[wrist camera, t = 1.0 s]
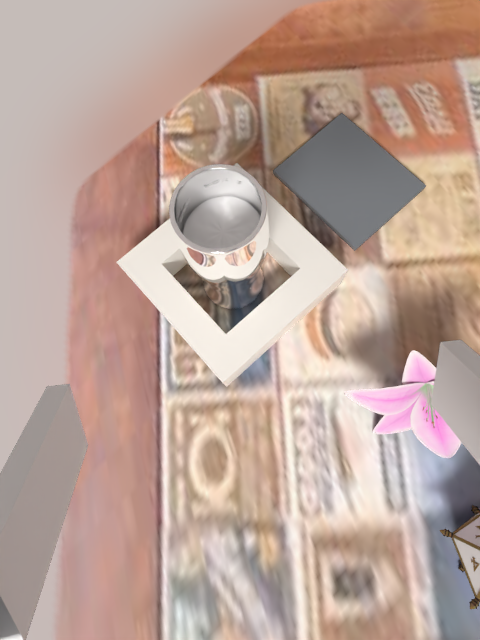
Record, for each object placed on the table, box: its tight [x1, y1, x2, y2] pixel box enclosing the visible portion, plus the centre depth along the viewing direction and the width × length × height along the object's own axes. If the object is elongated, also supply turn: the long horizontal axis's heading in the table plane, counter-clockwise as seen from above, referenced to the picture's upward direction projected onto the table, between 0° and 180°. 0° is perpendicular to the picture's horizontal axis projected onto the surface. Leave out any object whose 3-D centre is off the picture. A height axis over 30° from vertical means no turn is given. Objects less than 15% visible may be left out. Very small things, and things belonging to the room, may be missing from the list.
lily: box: [344, 350, 462, 458], centre depth 36 cm, size 12×12×10 cm
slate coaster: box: [273, 113, 426, 251], centre depth 45 cm, size 10×12×1 cm
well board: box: [117, 163, 348, 387], centre depth 41 cm, size 15×15×4 cm
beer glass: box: [169, 164, 269, 309], centre depth 36 cm, size 7×7×15 cm
